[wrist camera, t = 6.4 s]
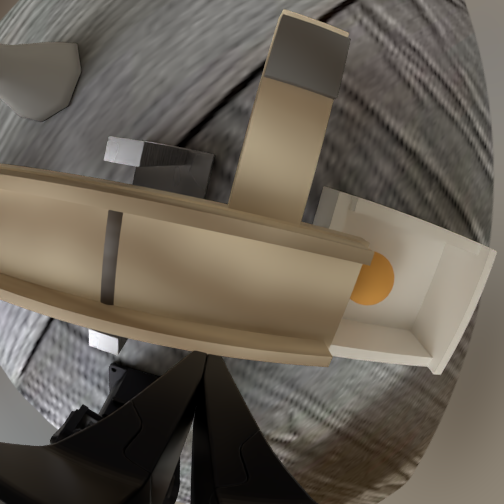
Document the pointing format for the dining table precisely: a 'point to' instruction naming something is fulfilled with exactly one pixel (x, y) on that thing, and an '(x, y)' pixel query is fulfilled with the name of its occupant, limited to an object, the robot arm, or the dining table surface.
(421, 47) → the dining table surface
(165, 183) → the stand
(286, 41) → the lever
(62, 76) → the flask
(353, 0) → the dining table surface
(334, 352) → the white open box
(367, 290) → the ball
